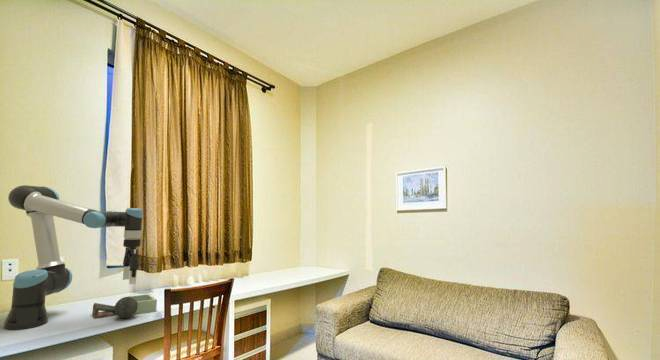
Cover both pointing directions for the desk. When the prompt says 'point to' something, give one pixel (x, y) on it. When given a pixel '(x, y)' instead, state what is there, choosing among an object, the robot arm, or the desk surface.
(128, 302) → the decorative ball
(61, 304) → the desk surface
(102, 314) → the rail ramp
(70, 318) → the desk surface
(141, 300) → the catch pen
